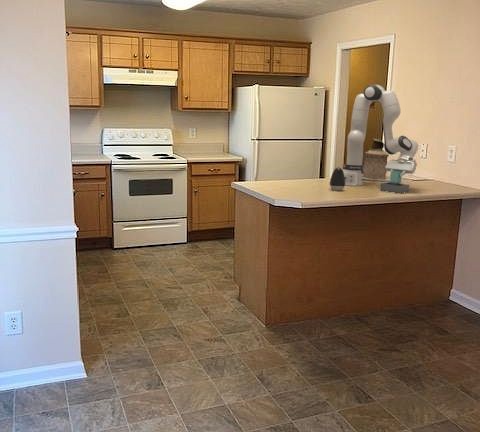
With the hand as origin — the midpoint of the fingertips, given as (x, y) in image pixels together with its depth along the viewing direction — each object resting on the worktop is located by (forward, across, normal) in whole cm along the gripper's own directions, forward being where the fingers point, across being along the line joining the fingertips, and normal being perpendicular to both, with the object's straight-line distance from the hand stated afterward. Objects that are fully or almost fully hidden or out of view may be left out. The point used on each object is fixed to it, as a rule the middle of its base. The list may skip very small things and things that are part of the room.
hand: (395, 176), depth 347 cm
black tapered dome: (+29, -25, -14) cm, 41 cm away
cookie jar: (-25, -43, +40) cm, 63 cm away
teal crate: (+3, 0, +4) cm, 5 cm away
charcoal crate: (+7, 0, +8) cm, 10 cm away
